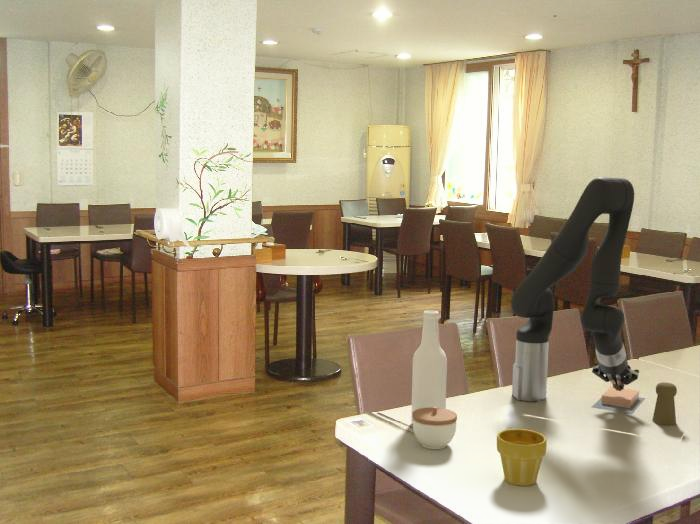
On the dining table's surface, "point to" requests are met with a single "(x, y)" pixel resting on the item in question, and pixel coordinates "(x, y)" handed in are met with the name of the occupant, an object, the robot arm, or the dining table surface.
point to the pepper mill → (665, 404)
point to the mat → (618, 408)
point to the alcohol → (429, 367)
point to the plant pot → (521, 455)
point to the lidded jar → (434, 426)
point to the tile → (620, 397)
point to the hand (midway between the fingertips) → (619, 388)
